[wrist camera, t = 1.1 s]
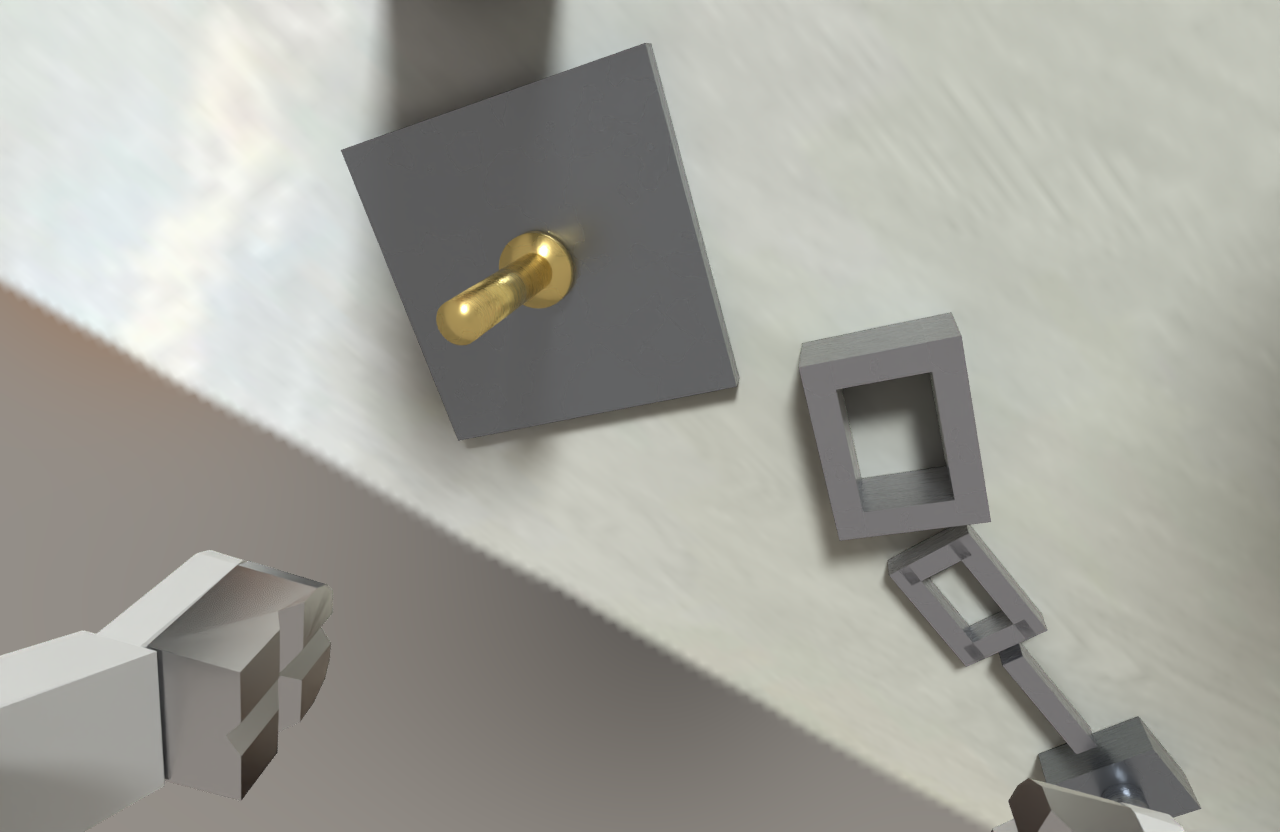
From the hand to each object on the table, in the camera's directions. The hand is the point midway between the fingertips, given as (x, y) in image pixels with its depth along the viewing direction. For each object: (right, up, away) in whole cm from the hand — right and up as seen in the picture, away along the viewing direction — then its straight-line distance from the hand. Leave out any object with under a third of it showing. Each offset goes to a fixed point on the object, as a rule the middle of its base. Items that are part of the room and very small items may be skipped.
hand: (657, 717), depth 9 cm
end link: (+11, +4, +25) cm, 27 cm away
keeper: (-4, +10, +25) cm, 28 cm away
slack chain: (+18, -9, +28) cm, 35 cm away
